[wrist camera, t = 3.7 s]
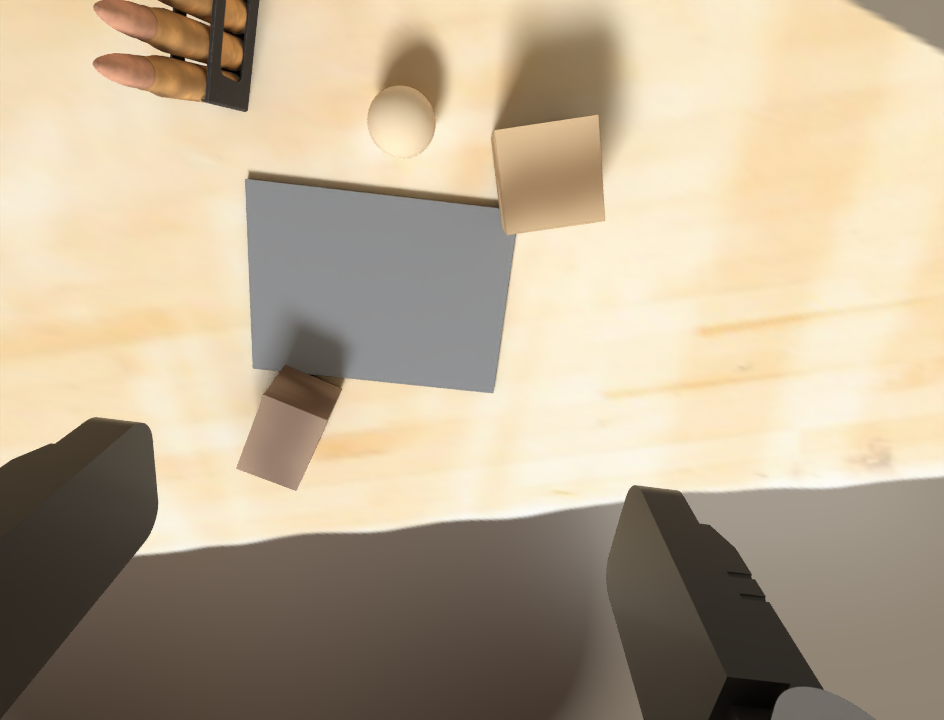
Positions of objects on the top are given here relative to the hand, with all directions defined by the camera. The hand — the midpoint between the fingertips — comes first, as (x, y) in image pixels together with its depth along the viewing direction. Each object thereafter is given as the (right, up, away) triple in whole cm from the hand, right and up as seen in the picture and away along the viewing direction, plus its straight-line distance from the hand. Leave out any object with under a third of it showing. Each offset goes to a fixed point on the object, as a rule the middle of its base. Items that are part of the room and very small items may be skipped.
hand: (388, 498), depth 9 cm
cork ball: (-2, +15, +20) cm, 25 cm away
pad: (-4, +7, +26) cm, 27 cm away
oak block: (+5, +13, +23) cm, 27 cm away
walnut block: (-10, -1, +29) cm, 31 cm away
